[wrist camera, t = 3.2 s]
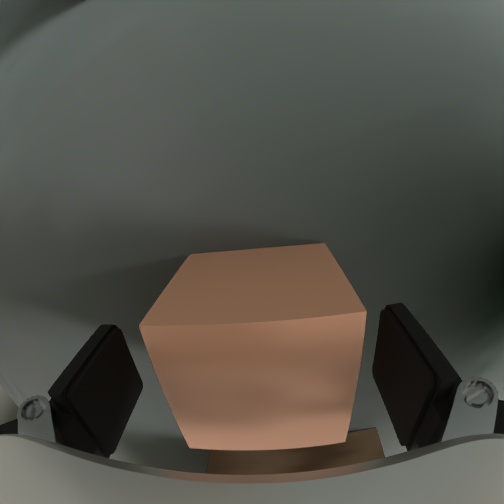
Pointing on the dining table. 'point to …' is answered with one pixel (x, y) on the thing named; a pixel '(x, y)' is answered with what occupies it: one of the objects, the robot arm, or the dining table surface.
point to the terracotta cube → (258, 348)
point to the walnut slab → (298, 457)
